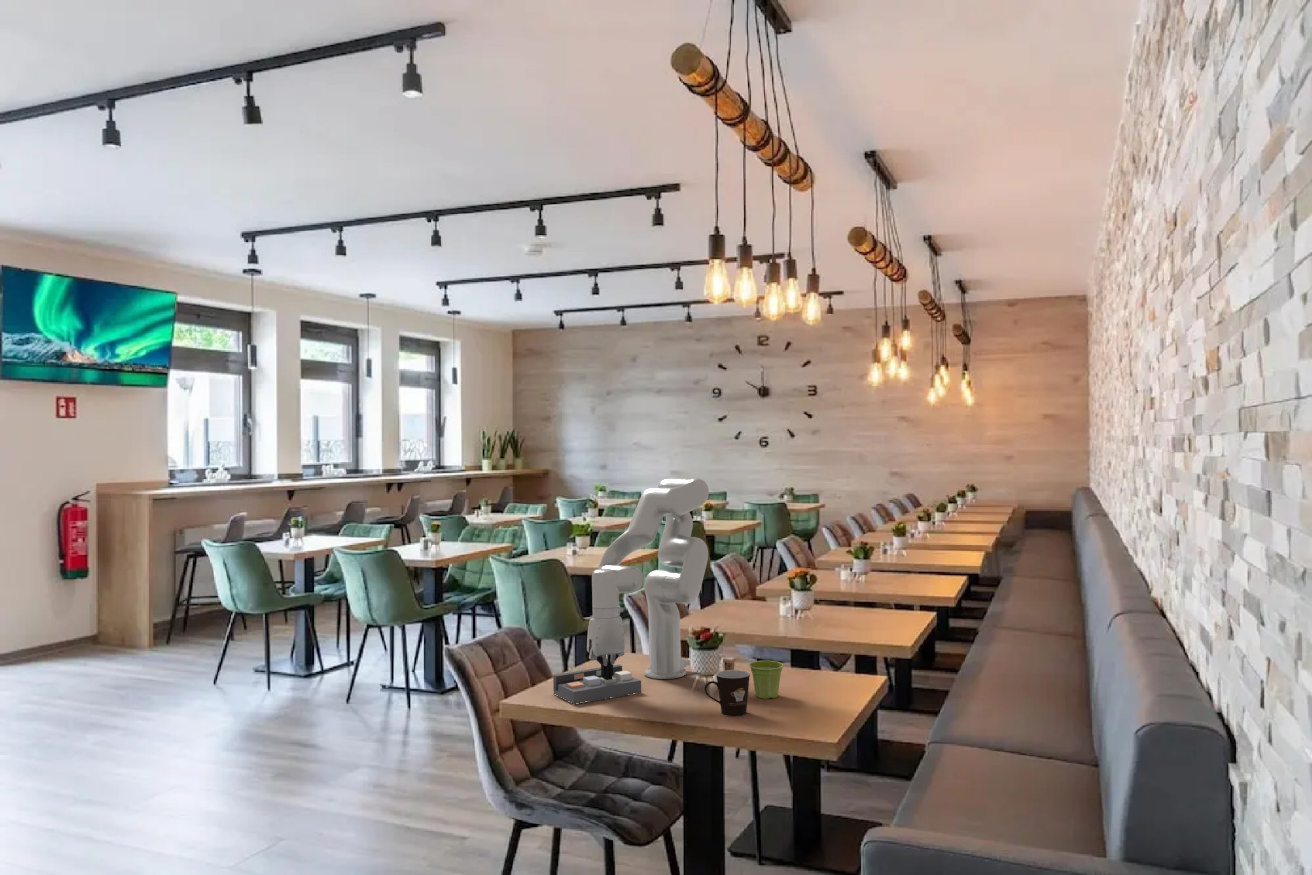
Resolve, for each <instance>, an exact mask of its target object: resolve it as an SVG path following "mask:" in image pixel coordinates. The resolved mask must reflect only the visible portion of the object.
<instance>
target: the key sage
mask: <svg viewBox="0 0 1312 875" xmlns="http://www.w3.org/2000/svg"><path fill="white" fill-rule="evenodd" d="M600 682H601V683H604V684H606V683H612V682H616V679H615V678H613V677H612V679H609V680H606V679H604V678H600Z"/></svg>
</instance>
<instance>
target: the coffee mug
mask: <svg viewBox="0 0 1312 875" xmlns="http://www.w3.org/2000/svg"><path fill="white" fill-rule="evenodd" d="M750 676H751V674H750V672H748V671H745V670H742V669H741V670H739V669H727V670H722V671H718V672H716V681H714V680H710V681H708V682H706V683H705V686H704V693H705V695H706V696H707V697H708V698H710V699H711V700H712V701H713V702H714V701H715V702H716V703H718V704H719V705H720V710H721V714H722V715H723V716H727V717H742V716H745V715H746V714H747V709H748V700H749V689H750V688H749V687H750ZM711 684H714V685H716V687H717V689H718V696H719V697H718V698H719V700H718V699H717V698H714V696H711V695H710V694H709V693H708V691H707V689H708V686H709V685H711Z"/></svg>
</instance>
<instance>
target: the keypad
mask: <svg viewBox="0 0 1312 875" xmlns="http://www.w3.org/2000/svg"><path fill="white" fill-rule="evenodd" d="M620 671H623V665H621V664H614V665H613V675H612V677H613V678H615V673H614V672H620ZM552 675H553V676H552V677H553V678H552V679H553V681H552V682H553V686H552V688H553V695H554V694H556V695H558V696H559V697H562V698H564V699H566V700H567V701H570V702H572V703H573V704H576V703H580V702H585V701H593V702H596V701H595V700H599V701H601V700H600V699H604V700H606V699H605V698H610V697H616V698H621V697H626V696H625V695H627V696H629V695H628V694H633V693H638V694H642V680H641V679H638V678H636V677H634V676H632V679H630V680H624V681H619V680H616V682H612V683H606V684H604V683H601V682H600V685H594V686H586V685H584V687H582V688H576V689H570V688H568V687H567V683H573V682H581V683H583V677H589V676H596V677H599V678H602V676H601V666H600V667H595V668H588V669H582V670H576V671H570V672H563V673H558V674H552ZM556 695H555V696H556ZM633 695H634V694H633ZM558 696H557V697H558ZM620 696H621V697H620ZM559 697H558V698H559ZM610 699H611V698H610ZM567 701H566V702H567ZM573 704H572V705H573ZM576 705H577V704H576Z"/></svg>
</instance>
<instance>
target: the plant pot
mask: <svg viewBox="0 0 1312 875" xmlns="http://www.w3.org/2000/svg"><path fill="white" fill-rule="evenodd" d="M748 666H749V667H750V671H751V672H752V679H753V686H754V693H755V696H756V697H757V698H759V699H765V700H767V699H771V698H772V699H775V698H778V697H779V692H780V691H779V689H780V682H781V681H780V680H781V675H782V674H781V673H782V671H783V668H784V664H783V662H779V661H776V660H775V661H774V660H757V661H755V660H754V661H752V662H750V663H749V664H748Z"/></svg>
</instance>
